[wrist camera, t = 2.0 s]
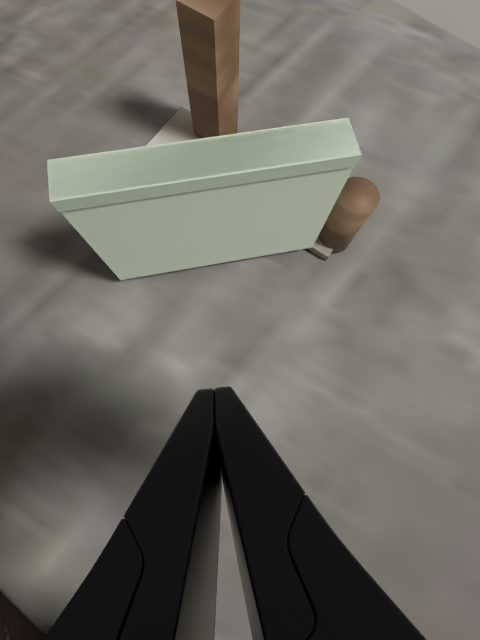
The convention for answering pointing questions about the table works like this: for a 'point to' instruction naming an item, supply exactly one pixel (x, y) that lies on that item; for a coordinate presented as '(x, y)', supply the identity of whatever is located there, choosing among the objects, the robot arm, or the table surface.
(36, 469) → the table surface
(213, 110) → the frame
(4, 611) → the diary
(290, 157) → the pale green flat panel
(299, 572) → the robot arm
